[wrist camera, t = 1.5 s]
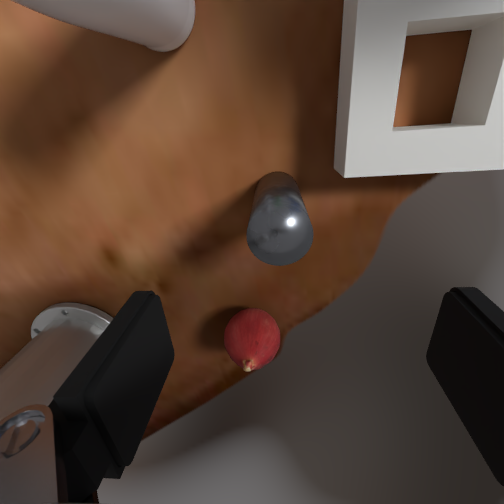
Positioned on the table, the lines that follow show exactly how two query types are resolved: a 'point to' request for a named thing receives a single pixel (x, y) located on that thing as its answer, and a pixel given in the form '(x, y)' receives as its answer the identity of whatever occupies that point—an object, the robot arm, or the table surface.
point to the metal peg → (279, 221)
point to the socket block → (387, 83)
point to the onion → (252, 338)
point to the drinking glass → (125, 18)
